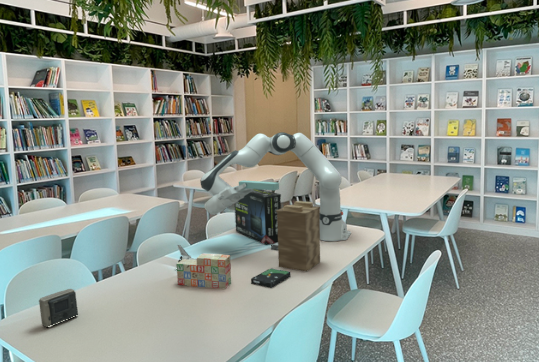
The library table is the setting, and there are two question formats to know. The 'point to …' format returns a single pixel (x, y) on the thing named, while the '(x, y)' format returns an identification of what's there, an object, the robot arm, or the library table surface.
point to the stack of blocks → (205, 271)
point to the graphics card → (274, 246)
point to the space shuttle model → (184, 254)
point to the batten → (260, 185)
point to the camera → (58, 307)
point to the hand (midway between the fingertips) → (249, 183)
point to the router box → (258, 216)
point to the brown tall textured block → (298, 236)
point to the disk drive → (270, 278)
